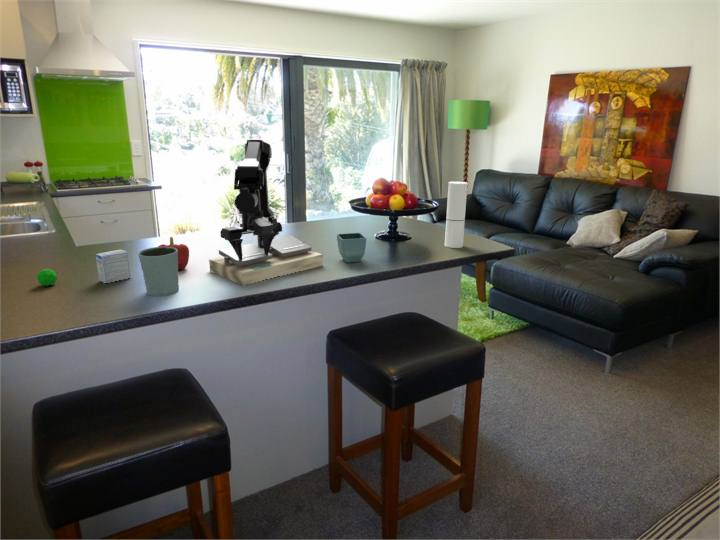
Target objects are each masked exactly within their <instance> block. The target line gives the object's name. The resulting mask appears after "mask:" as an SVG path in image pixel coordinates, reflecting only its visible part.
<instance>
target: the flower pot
mask: <svg viewBox="0 0 720 540" xmlns="http://www.w3.org/2000/svg"><path fill="white" fill-rule="evenodd" d="M336 241H337V248H338V251H339V254H340V256H341V258H342V259H343V261H345V262H346V263H358V262H361V261H362V259H363V257H364V255H365V252H366V246H367V245H366V244H367V237H366V236H364V234H362V233H361V232H352V233H351V232H350V233H349V232H348V233H336Z"/></svg>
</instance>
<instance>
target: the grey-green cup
mask: <svg viewBox="0 0 720 540" xmlns="http://www.w3.org/2000/svg"><path fill="white" fill-rule="evenodd" d="M137 254H138V259H139V262H140V266H141V268H140V269H141V270H142V274H143V279H144V285H145V290H146V293H147V295H148V296H151V297H167V296H171V295H175V294H176V293H178V292H179V291H180V290H179V289H180V285H179V283H180V282H179V270H178V250H177V249H176V248H173V247H158V246H155V247H150V248H145V249H142V250H140V251H139V252H138V253H137ZM174 293H175V294H174Z"/></svg>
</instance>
